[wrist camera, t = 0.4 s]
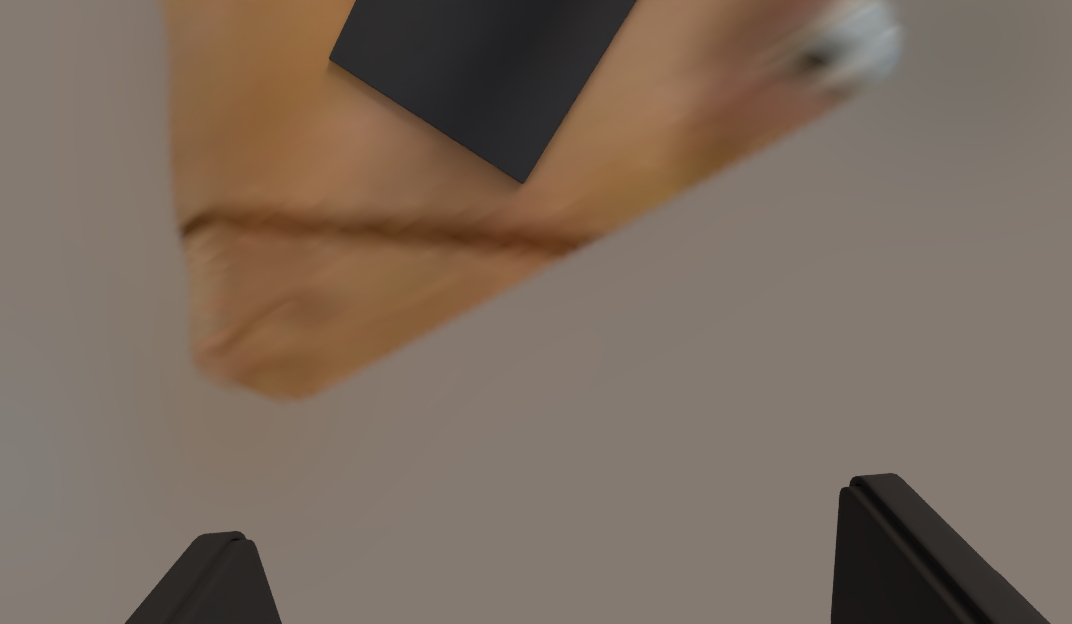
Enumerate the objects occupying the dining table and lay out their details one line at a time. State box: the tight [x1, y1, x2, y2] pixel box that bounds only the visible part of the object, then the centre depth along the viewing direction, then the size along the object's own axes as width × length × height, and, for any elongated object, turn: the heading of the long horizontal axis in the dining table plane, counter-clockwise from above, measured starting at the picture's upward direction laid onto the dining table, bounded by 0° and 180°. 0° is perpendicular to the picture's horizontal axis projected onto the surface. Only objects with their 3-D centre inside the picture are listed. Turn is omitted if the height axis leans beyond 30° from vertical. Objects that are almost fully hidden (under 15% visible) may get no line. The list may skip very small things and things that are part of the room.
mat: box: [329, 0, 636, 184], centre depth 34 cm, size 14×14×1 cm
